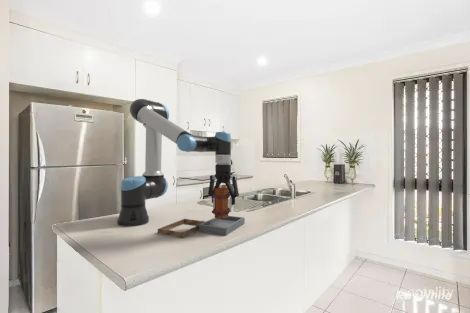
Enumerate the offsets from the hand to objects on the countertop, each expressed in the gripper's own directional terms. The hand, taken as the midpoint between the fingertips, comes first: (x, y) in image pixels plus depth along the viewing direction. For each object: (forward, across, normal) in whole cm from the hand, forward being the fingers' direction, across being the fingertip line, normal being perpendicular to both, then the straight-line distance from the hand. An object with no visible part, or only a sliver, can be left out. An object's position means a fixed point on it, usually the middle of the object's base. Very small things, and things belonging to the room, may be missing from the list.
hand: (223, 210), depth 122 cm
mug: (+3, 0, 0) cm, 3 cm away
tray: (+8, 0, 0) cm, 8 cm away
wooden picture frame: (+8, -15, -11) cm, 20 cm away
